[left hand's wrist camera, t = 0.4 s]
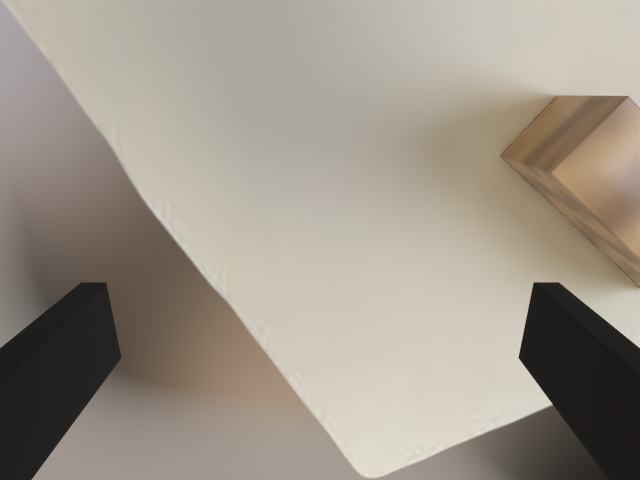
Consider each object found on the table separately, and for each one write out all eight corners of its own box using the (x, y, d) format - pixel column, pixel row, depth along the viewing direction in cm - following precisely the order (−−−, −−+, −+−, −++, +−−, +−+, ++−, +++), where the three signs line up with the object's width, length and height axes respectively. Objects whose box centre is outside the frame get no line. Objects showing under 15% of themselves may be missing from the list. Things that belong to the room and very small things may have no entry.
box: (499, 155, 38) (550, 172, 30) (557, 95, 36) (628, 95, 28) (641, 289, 43) (719, 336, 34) (698, 241, 41) (796, 279, 33)
